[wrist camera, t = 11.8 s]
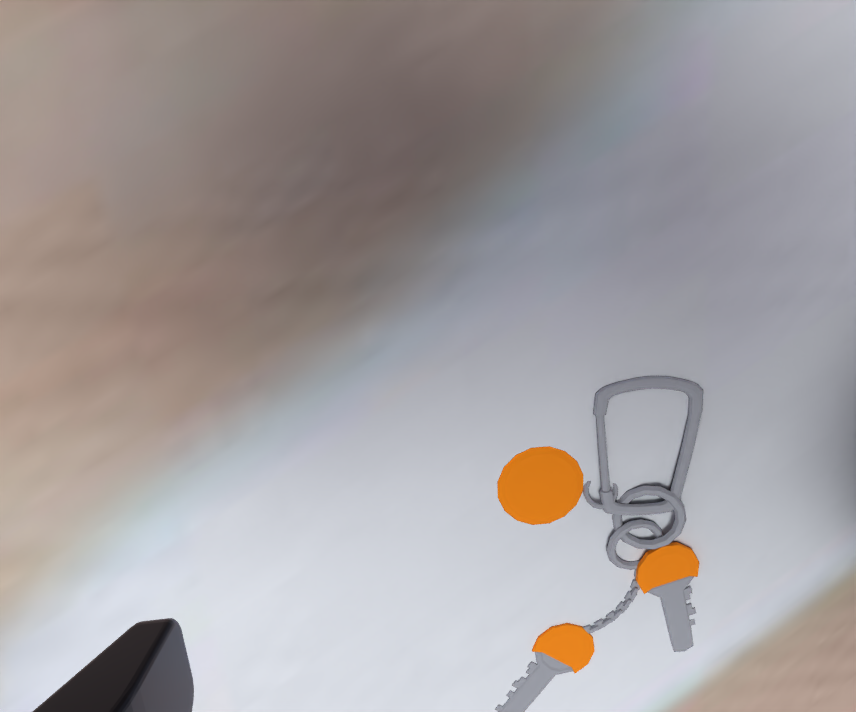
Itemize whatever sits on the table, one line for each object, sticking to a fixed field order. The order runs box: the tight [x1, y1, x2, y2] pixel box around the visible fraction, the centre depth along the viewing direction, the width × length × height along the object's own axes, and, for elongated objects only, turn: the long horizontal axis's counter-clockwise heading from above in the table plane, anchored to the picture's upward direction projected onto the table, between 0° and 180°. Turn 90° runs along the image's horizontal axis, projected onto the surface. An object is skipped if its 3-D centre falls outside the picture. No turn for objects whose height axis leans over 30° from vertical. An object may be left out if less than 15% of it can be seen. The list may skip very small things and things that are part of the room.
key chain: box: [495, 376, 703, 712], centre depth 24 cm, size 13×7×1 cm, turn 0°
